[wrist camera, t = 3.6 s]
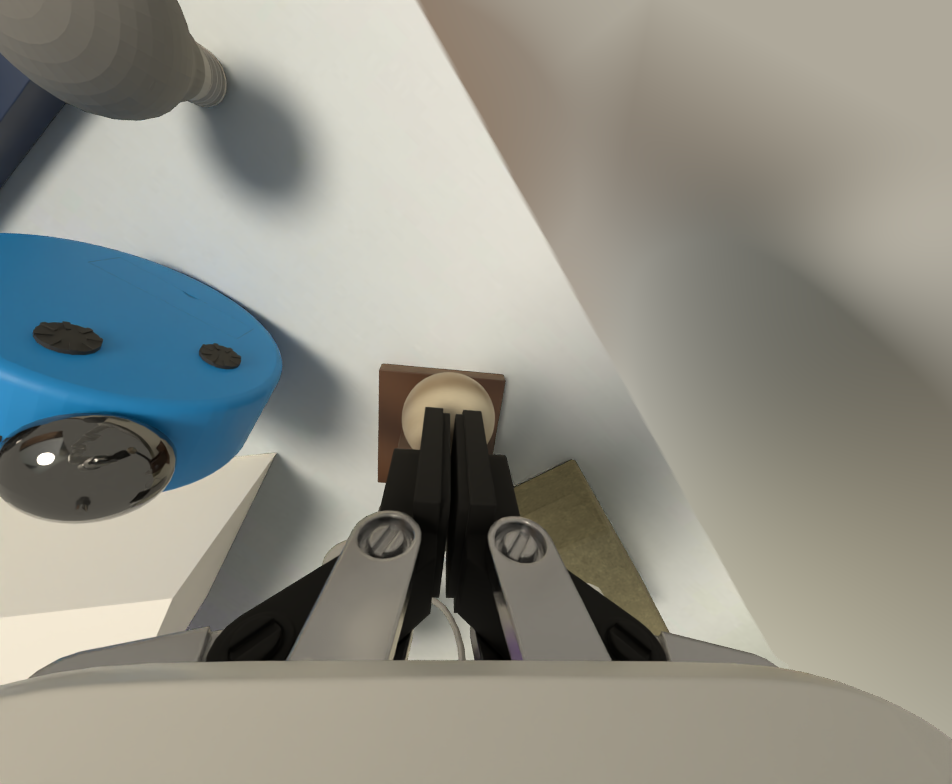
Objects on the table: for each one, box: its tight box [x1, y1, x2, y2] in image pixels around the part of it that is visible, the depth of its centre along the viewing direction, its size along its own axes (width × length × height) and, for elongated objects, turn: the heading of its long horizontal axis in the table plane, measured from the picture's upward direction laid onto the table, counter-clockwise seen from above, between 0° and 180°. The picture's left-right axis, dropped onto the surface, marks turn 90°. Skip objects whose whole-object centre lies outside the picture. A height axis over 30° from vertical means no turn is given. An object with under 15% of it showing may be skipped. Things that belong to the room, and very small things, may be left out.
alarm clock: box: [0, 233, 282, 524], centre depth 18 cm, size 13×6×15 cm, turn 54°
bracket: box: [378, 364, 505, 512], centre depth 24 cm, size 10×9×12 cm
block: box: [0, 453, 276, 685], centre depth 27 cm, size 18×35×12 cm, turn 121°
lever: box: [402, 372, 495, 551], centre depth 17 cm, size 13×3×3 cm, turn 173°
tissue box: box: [514, 460, 669, 636], centre depth 29 cm, size 19×10×16 cm, turn 30°
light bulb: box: [0, 0, 227, 121], centre depth 15 cm, size 6×6×10 cm
